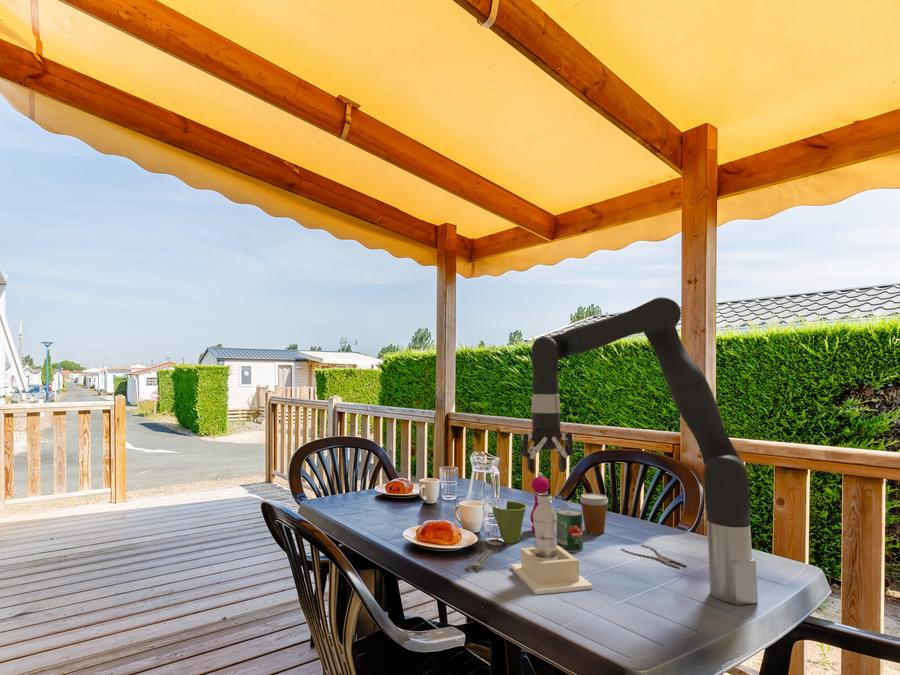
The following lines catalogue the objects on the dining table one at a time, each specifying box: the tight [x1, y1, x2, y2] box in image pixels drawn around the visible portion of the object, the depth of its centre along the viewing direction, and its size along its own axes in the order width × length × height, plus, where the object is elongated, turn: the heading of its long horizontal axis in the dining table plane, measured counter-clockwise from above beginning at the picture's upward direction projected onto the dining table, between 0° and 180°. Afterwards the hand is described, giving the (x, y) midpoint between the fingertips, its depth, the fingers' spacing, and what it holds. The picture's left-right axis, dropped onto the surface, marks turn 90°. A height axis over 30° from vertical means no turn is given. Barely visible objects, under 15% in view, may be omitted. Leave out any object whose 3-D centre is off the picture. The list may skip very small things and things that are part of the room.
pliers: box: [620, 544, 688, 570], centre depth 147 cm, size 10×1×20 cm
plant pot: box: [490, 500, 528, 545], centre depth 162 cm, size 12×12×11 cm
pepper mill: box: [529, 472, 550, 534], centre depth 172 cm, size 7×7×20 cm
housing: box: [510, 545, 593, 595], centre depth 130 cm, size 18×15×6 cm
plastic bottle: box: [532, 493, 558, 561], centre depth 131 cm, size 6×7×20 cm
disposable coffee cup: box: [579, 493, 609, 535], centre depth 172 cm, size 10×10×12 cm
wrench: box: [466, 545, 499, 573], centre depth 144 cm, size 5×20×1 cm, turn 160°
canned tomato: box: [555, 508, 584, 553], centre depth 154 cm, size 8×8×11 cm
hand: (547, 472), depth 133 cm, fingers open, 8 cm apart
